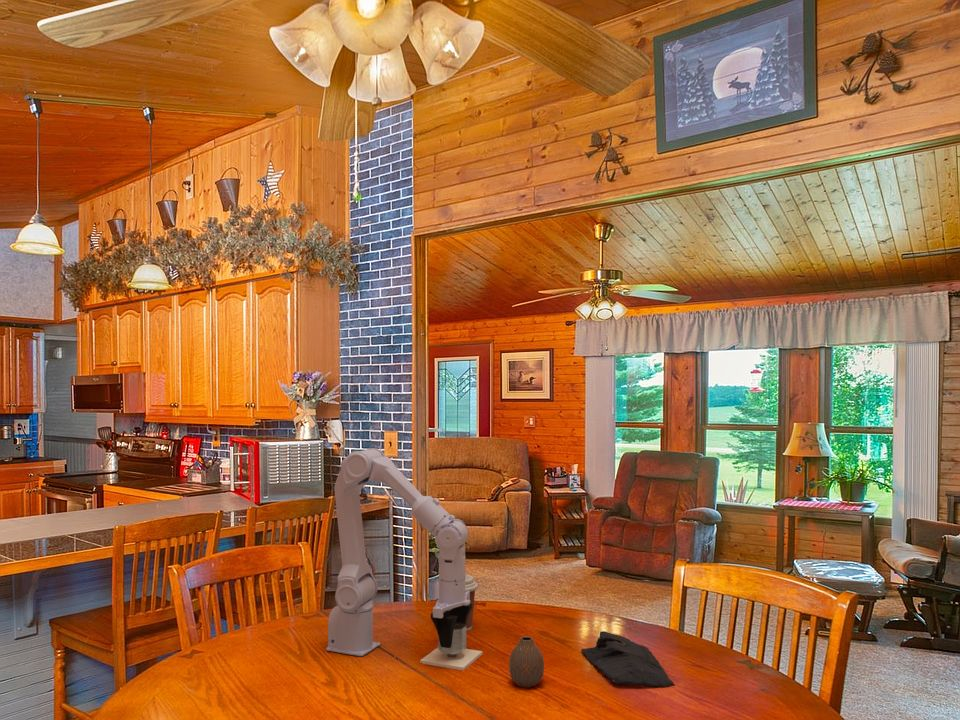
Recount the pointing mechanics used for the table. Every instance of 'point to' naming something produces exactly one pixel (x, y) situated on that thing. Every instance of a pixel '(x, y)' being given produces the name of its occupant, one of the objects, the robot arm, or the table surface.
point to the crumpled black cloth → (626, 662)
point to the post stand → (451, 659)
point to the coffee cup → (470, 586)
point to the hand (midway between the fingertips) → (451, 642)
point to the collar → (456, 640)
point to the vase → (526, 663)
